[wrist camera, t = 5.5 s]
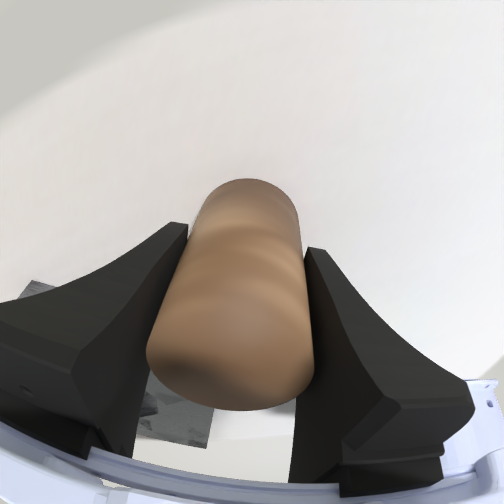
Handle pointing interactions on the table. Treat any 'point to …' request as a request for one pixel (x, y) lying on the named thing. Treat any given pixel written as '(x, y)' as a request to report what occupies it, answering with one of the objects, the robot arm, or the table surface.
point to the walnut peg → (237, 305)
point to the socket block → (162, 406)
